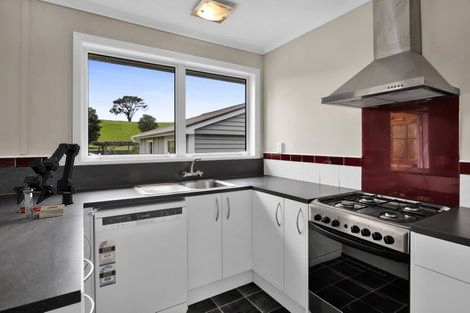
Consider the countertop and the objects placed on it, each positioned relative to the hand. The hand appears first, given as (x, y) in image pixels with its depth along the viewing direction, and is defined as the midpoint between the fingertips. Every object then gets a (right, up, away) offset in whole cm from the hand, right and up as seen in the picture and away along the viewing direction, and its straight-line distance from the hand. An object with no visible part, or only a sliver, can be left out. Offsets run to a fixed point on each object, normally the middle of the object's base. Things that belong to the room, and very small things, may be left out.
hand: (27, 204), depth 127 cm
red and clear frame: (-11, -7, +16) cm, 21 cm away
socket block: (+7, -7, +8) cm, 12 cm away
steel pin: (0, -7, +1) cm, 7 cm away
